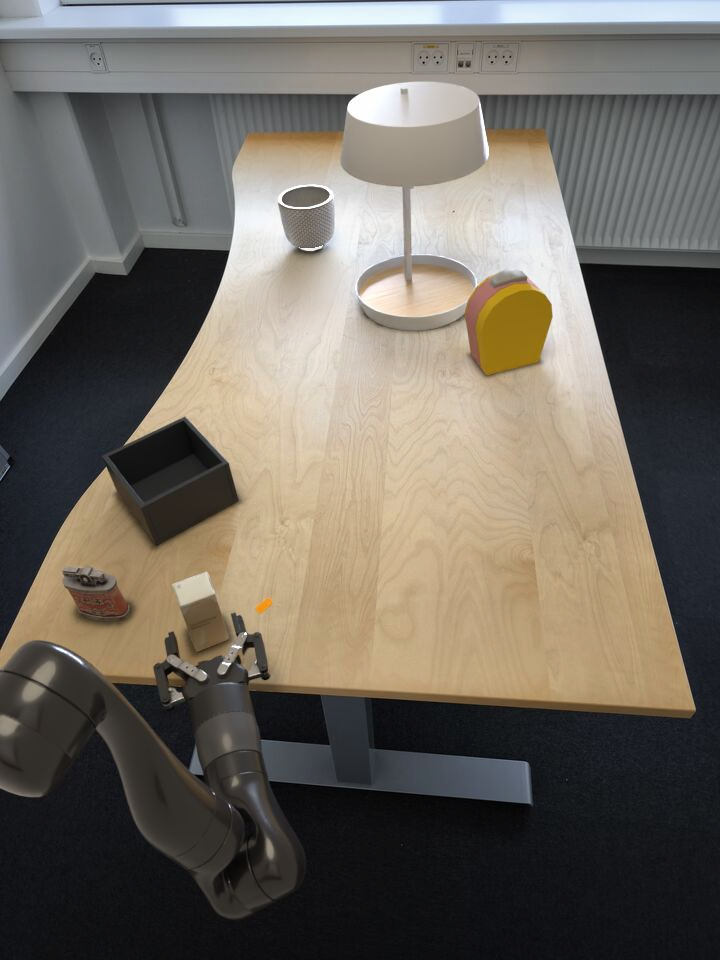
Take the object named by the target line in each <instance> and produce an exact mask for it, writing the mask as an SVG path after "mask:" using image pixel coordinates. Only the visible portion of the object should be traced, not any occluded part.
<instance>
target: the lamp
mask: <svg viewBox="0 0 720 960" xmlns="http://www.w3.org/2000/svg"><path fill="white" fill-rule="evenodd" d="M343 129H344V130H343V137H342V143H341V151H340V157H339V163H340V166H341V168H342V170H343V171H344V172H345V173H346V174H348V175H349V176H351V177H353V178H355V179H357V180H359V181H363V182H366V183H368V184H374V185H379V186H385V187H397V188H398V187H399V188H402V189H401V190H402V191H401V193H402V195H401V196H402V219H403V220H402V228H403V255H398V256H394V257H389V258H386V259H383V260H380V261H378V262H376V263H374V264H372V265H371V266H369V267H367V268H366V269H365V270H364V271H362V273H361V274H360V275H359V276H358V278H357V280H356V282H355V293H356V296H357V299H358V301H359V304H360V306H361V309H362V310H363V312H364V313H365V315H366V316H367V317H368V318H369V319H370V320H371V321H373V322H375V323H376V324H379V325H381V326H384V327H387V328H390V329H393V330H399V331H409V332H413V331H417V332H418V331H427V330H433V329H438V328H442V327H444V326H447V325H450V324H452V323H454V322H456V321H457V320H459V319H460V318H461V317H463V316H465V309H466V305H467V301H468V299H469V297H470V296H471V294H472V293H473V291H474V290H475V288H476V287H477V286H478V279H477V276H476V275H475V273H474V272H473V270H471V268H469V267H468V266H466V265H465V264H464V263H462V262H460V261H457V260H456V259H453V258H449V257H446V256H442V255H435V254H427V253H426V254H423V253H417V254H416V253H415V254H414V253H413V251H412V249H413V248H412V205H411V204H412V203H411V201H412V199H411V196H412V195H411V190H412V189H414V188H415V187H426V186H432V185H440V184H444V183H449V182H452V181H453V182H454V181H456V180H459V179H461V178H465V177H466V176H469V175H471V174H473V173H474V172H476V171H478V170H479V169H481V168H482V167H483V166H484V165H485V164H486V163H487V161H488V159H489V155H490V152H489V145H488V139H487V134H486V129H485V122H484V117H483V111H482V106H481V100H480V96H479V95H478V94H477V93H476V92H475V91H473V90H471V89H470V88H467V87H465V86H462V85H458V84H454V83H448V82H441V81H406V82H398V83H397V82H396V83H391V84H386V85H382V86H378V87H374V88H371V89H368V90H366V91H364V92H361V93H360V94H358V95H356V96H355V97H353V98H352V99H351V100H350V101H349V102H348V105H347V108H346V115H345V123H344V128H343Z"/></svg>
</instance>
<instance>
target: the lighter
mask: <svg viewBox="0 0 720 960" xmlns="http://www.w3.org/2000/svg"><path fill="white" fill-rule="evenodd" d="M61 573H62V575H63V578H62V582H61V583H62V585H63V587H64V588H65V589H67V591H68V592H69V594H70V596H71V597H72V600H73V601H74V603H75V604H76V606H77V610H78V611H77V612H79V614H80V615H81V616H82V617H86V618H88V619H92V620H96V621H97V620H98V621H106V622H107V621H108V622H112V621H113V622H116V621H123V620H126V619H128V617H129V616H130V614H131V611H132V610H131V607H130V605H129V603H127V602H126V600H125V598H124V596H123V594H122V591H121V589H120V587H119V586H118V580H117V578H116V577H115V575H113V574H109V573H105V572H104V570H103V569H98V568H94V567H93V566H91V565H84V567H78V566H69V565H65V566H63V568H62V569H61Z"/></svg>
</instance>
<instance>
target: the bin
mask: <svg viewBox="0 0 720 960" xmlns="http://www.w3.org/2000/svg"><path fill="white" fill-rule="evenodd" d="M101 458H102V460H103V463H104V465H105V468H106V469H107V472H108V474H109V477H110V479H111V481H112V483H113V486H114V488H115V490H116V492H117V495H118V496H119V497H120V499H121V500H122V501H123V502H124V505H125V506H126V507H127V508H128V510H129V511H130V513H131V514H132V515H133V516H134V518H135V519H136V520H137V523H139V524H140V526H141V527H142V530H143V531H144V532H145V533H146V534H147V536H148V537H149V538H150V540H151V541H152V542H153V544H154V545H155V546H158V545H160V544H162V543H164V542H166V541H167V540H169V539H171V538H173V537H175V536H177V535H178V534H180V533H183V532H185V531H186V530H188V529H190V528H191V527H193V526H196V525H197V524H199V523H201V522H203V521H204V520H206V519H208V518H210V517H211V516H213V515H216V514H218V513H219V512H221V511H222V510H223V511H224V510H225V509H227V508H228V507H230V506H232V505H234V504H236V503H237V502H239V497H238V496H239V495H238V493H237V489H236V485H235V481H234V478H233V474H232V469H231V466H230V463H229V461H228V460H227V459H226V458H225V457H224V455H222V454H221V453H220V452H219V451H218V450H217V449H216V448H215V447H214V445H213V444H212V443H211V442H210V441H209V440H208V438H207V437H205V436H204V434H203V433H201V431H200V430H199V429H198V428H197V427H196V426H195V425H194V423H192V422H191V421H190V420H189V418H188V417H187V416H183V417H181V418H179V419H176V420H174V421H172V422H170V423H168V424H166V425H164V426H162V427H159V428H157V429H156V430H154V431H152V432H149V433H147V434H145V435H143V436H140V437H139V438H137V439H135V440H132V441H130V442H129V443H126V444H124V445H122V446H120V447H117V448H115V449H113V450H111V451H109V452H107V453H104V454H102V455H101Z"/></svg>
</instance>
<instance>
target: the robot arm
mask: <svg viewBox="0 0 720 960" xmlns="http://www.w3.org/2000/svg"><path fill="white" fill-rule="evenodd" d="M230 617H231V621H232V626H233V629H234V632H235V636H236V638H235V641H234V643H233V644H232V645H230V647H229V649H228V650H227V653H226V654H225V656H223V655H222V654H220V655H217V656H214V657H213V658H211V659H206V660H201V661H198V662H197V664H196V665H195V666H194V665H193V664H192V663H190V662H189V661H187V660H183V659H181V655H180V649H179V644H178V639H177V636H176V634H175V631H169V632H168V633H167V634H168V636H166V637H165V638H164V647H165V653H166V658H165V660H164V661H162V662H155V664H154V665H153V667H152V668H153V673H154V678H155V682H156V687H157V691H158V696H159V700H160V702H161V704H162V706H163V708H164V710H165V711H166V712H168V713H170V712H173V711H174V710H175V708H176V706H178V705H180V704H183V703H186V704H187V705H188V710H189V715H190V721H191V727H192V732H193V738H194V742H195V749H196V755H197V758H198V761H199V765H200V768H201V770H202V775H203V780H204V781H202V780H201V779H200V778H199V777H197V776H196V775H195V774H194V773H193V772H191V770H189V769H188V768H187V767H186V766H185V764H184V763H182V761H180V759H179V758H178V757H177V756H176V755H175V754H174V752H173V751H171V749H170V748H169V746H168V745H167V744H166V743H165V742H164V741H163V739H162V738H161V737H160V735H158V734H157V732H156V731H155V730H154V729H153V728H152V726H151V725H150V724H149V723H148V722H147V721H146V719H145V718H144V717H143V716H142V715H141V714H140V713H139V712H138V711H137V709H136V708H135V707H134V706H133V704H131V703H130V701H129V700H128V699H127V698H126V696H125V695H124V694H122V693H121V691H120V690H119V689H118V688H117V687H116V686H115V685H114V683H113V682H111V680H110V679H109V678H107V676H106V675H105V674H104V673H102V672H101V671H100V670H99V669H98V668H97V667H96V666H95V665H94V664H92V662H89V661H88V660H87V659H86V658H84V657H82V655H80V654H78V653H77V652H75V651H73V650H71V649H69V648H67V647H65V646H63V645H60V644H58V643H55V642H52V641H47V640H42V639H41V640H40V639H39V640H38V639H37V640H36V639H33V640H29V641H27V642H25V643H23V644H22V645H20V646H19V647H18V648H17V649H16V650H15V652H14V653H13V654H12V655H11V656H10V658H9V659H8V660H7V661H6V662H5V664H4V665H3V667H1V669H0V789H1V790H2V791H3V790H4V791H5V792H8V793H10V794H14V795H17V796H21V797H27V798H41V797H42V798H43V797H45V796H47V795H49V794H50V793H52V792H53V791H54V790H55V789H56V788H57V786H58V785H59V784H60V783H61V782H62V781H63V779H64V777H66V775H67V773H68V771H69V770H70V769H71V768H72V766H73V765H74V763H75V761H76V760H77V758H78V757H79V756H80V754H81V753H82V751H83V750H84V748H85V746H86V745H87V743H88V742H89V740H90V738H91V737H92V736H93V734H94V732H95V731H96V732H97V733H98V734H99V736H100V737H101V738H102V739H103V742H104V743H105V744H106V746H107V748H108V749H109V752H110V753H111V755H112V758H113V761H114V763H115V766H116V768H117V772H118V774H119V778H120V781H121V784H122V788H123V792H124V796H125V799H126V803H127V807H128V809H129V812H130V815H131V817H132V820H133V822H134V825H135V826H136V828H137V831H138V832H139V833H140V835H141V837H143V838H144V840H145V841H146V842H147V843H148V844H149V845H150V846H151V847H152V848H153V849H154V850H156V851H158V852H159V853H161V854H162V855H164V856H165V857H166V858H168V859H169V860H171V861H172V862H174V863H175V864H176V865H178V866H180V867H181V868H182V869H184V870H186V871H187V872H188V874H189V875H190V877H191V878H192V879H193V881H194V882H195V884H196V885H197V887H198V888H199V890H200V891H201V892H202V894H203V895H204V897H205V899H206V900H207V902H208V904H209V905H210V907H211V908H212V910H213V911H214V912H215V914H217V915H218V916H219V917H221V918H223V919H226V920H230V921H241V920H245V919H248V918H250V917H252V916H253V915H255V914H257V913H258V912H261V911H263V910H264V909H266V908H267V907H270V906H271V905H273V904H276V903H277V902H279V901H280V900H282V899H284V898H286V897H288V896H290V895H292V894H293V893H295V892H296V891H297V890H298V889H299V888H300V887H301V886H302V884H303V882H304V880H305V876H306V873H307V872H306V870H307V857H306V853H305V849H304V846H303V845H302V843H301V841H300V839H299V837H298V836H297V834H296V832H295V831H294V828H292V826H291V824H290V823H289V821H288V819H287V817H286V816H285V814H284V812H283V810H282V808H281V807H280V804H279V802H278V801H277V800H278V799H277V798H276V797H275V793H274V791H273V789H272V787H271V783H270V780H269V775H268V770H267V767H266V764H265V759H264V755H263V746H262V739H261V733H260V728H259V725H258V722H257V719H256V714H255V711H254V705H253V701H252V698H251V695H250V689H249V685H250V681H253V680H257V679H260V678H261V680H262V681H268V680H269V679H270V678H271V672H270V667H269V662H268V661H269V660H268V657H267V652H266V647H265V643H264V639H263V636H262V633H261V632H260V631H255V632H253V633H248V631H247V629H246V628H247V627H246V624H245V621H244V618H243V616H242V615H241V614H239V615H237V612H232V613H230ZM249 649H254V653H255V659H254V660H253V662H252V663H251V667H250V669H248V670H247V668H245V667H244V666H243V664H244V663H245V658H246V655H247V654H248V652H249ZM172 673H174V674H175V675H177V676H178V677H180V678H181V679H182V681H184V682H185V684H184V685H183V688H182V689H181V692H180V691H177V689H176V688H175V687H171V685H170V680H169V675H171V674H172ZM248 823H252V824H253V830H254V831H253V832H251V833H250V834H248V835H246V836H245V834H246V826H245V824H248Z"/></svg>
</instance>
